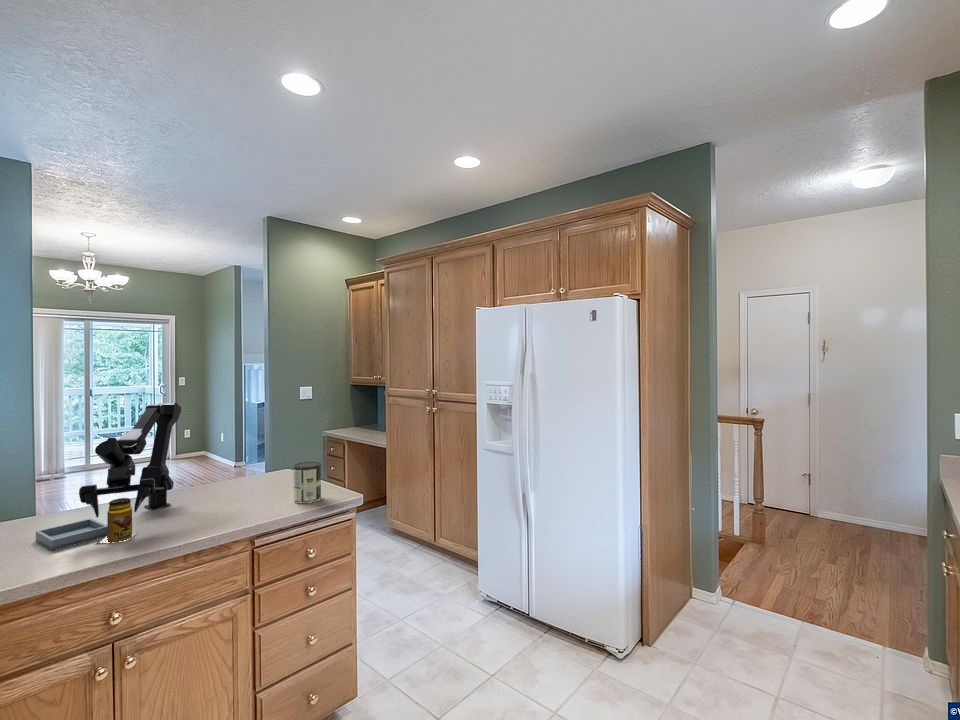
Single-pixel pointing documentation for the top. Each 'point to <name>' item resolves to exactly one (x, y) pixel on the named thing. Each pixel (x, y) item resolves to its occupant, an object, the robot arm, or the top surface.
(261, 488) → the top surface
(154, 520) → the top surface
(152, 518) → the top surface
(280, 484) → the top surface
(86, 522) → the bin
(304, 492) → the coffee can
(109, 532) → the condiment
